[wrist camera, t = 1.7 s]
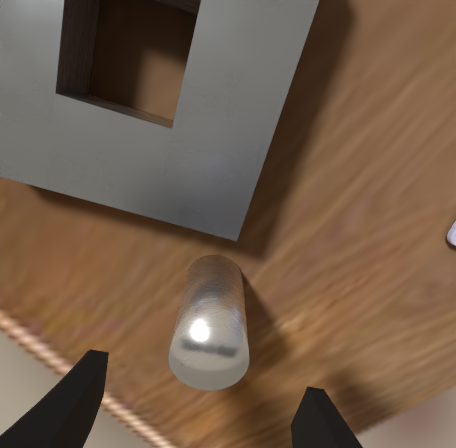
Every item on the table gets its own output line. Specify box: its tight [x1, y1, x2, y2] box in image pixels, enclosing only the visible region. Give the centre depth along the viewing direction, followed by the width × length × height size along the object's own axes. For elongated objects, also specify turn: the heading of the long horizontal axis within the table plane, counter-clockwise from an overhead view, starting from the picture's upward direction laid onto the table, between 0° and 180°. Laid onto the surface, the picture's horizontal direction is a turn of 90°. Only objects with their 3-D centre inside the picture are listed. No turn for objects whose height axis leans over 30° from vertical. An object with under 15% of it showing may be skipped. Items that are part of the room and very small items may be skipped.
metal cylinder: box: [169, 255, 249, 390], centre depth 15 cm, size 3×3×6 cm
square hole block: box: [0, 0, 319, 241], centre depth 12 cm, size 20×12×3 cm, turn 73°
